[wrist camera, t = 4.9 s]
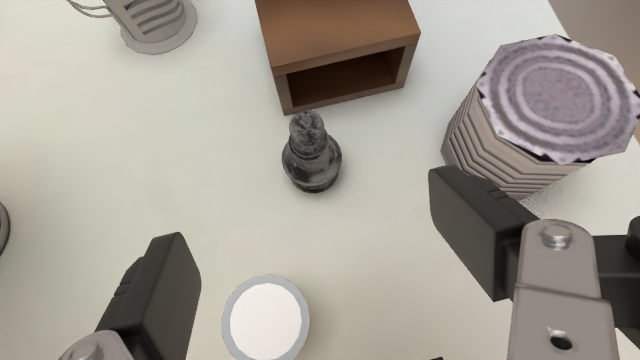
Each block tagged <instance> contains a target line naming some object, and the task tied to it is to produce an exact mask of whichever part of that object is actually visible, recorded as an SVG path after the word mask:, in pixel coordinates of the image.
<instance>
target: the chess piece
mask: <svg viewBox="0 0 640 360" xmlns="http://www.w3.org/2000/svg"><path fill="white" fill-rule="evenodd" d="M289 129H290V137H289V141H288V142H287V144H286V145H285V147H284V150H283V152H282V164H283V168H284V170H285V172H286V174H287V175H288V176H289V177H290V178H291V180H292V182H293V184H294V185H295V186H296V187H297V188H299V189H300V190H302V191H304V192H308V193H319V192H323V191H325V190H327V189H328V188H329V187H331V186H332V185H333V183H334V182H335V180H336V179H337V175H338V170H339V168H340V165H341V162H342V154H341V150H340V147H339V145H338V143H337V142H336V140H335V139H333V138H332V137H331V136H330V135H328V133H327V132H326V130H325V129H324V123H323V120H322V119H321V117H320V116H319V115H318V114H317V113H316V112H314V111H311V110H303V111H300V112H298V113H296V114H295V115H294V116H293V117H292V119H291V121H290V126H289Z"/></svg>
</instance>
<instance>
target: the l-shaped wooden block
mask: <svg viewBox="0 0 640 360" xmlns="http://www.w3.org/2000/svg"><path fill="white" fill-rule="evenodd" d="M255 4H256V8H257V12H258V16H259V20H260V25H261V29H262V33H263V37H264V41H265V46H266V50H267V54H268V58H269V62H270V67H271V70H272V74H273V78H274V81H275V85H276V88H277V92H278V95H279V99H280V103H281V106H282V110H283V113H284V115H288V114H293V113H297V112H300V111H303V110H309V109H314V108H318V107H322V106H326V105H331V104H335V103H339V102H343V101H347V100H352V99H356V98H360V97H364V96H368V95H373V94H377V93H381V92H385V91H389V90H394V89H398V88H402V87H403V86H404V83H405V80H406V77H407V74H408V71H409V68H410V65H411V62H412V59H413V55H414V52H415V49H416V46H417V43H418V40H419V37H420V34H421V31H420V29H419V26H418V24H417V21H416V19H415V17H414V14H413V12H412V9H411V7H410V4H409V2H408V0H255Z"/></svg>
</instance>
